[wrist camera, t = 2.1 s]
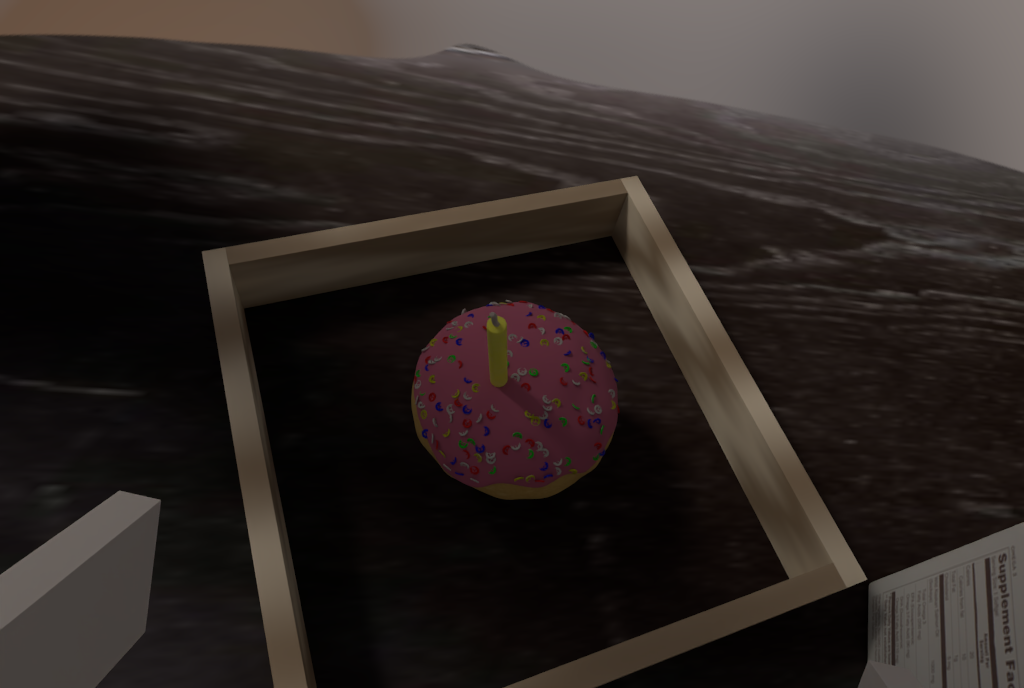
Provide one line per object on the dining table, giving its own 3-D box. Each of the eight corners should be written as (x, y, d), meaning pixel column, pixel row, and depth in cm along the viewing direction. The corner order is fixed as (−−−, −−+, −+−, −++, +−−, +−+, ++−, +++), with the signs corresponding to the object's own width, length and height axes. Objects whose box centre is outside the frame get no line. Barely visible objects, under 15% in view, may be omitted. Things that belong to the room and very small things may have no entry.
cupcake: (475, 568, 29) (512, 461, 19) (374, 410, 32) (360, 245, 22) (629, 465, 32) (732, 327, 22) (524, 331, 36) (572, 156, 25)
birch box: (219, 296, 34) (201, 251, 31) (620, 219, 40) (637, 175, 37) (307, 801, 24) (293, 805, 21) (822, 597, 30) (867, 579, 27)
